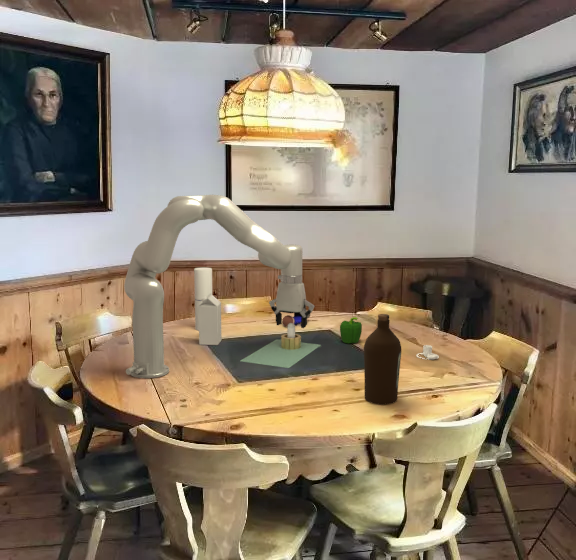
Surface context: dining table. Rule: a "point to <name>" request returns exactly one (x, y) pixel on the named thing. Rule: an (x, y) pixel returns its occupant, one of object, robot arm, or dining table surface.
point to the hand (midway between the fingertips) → (291, 325)
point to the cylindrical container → (201, 289)
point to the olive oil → (382, 364)
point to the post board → (281, 352)
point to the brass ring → (291, 342)
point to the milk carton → (210, 321)
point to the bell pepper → (350, 331)
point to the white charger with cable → (428, 353)
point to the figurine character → (292, 318)
